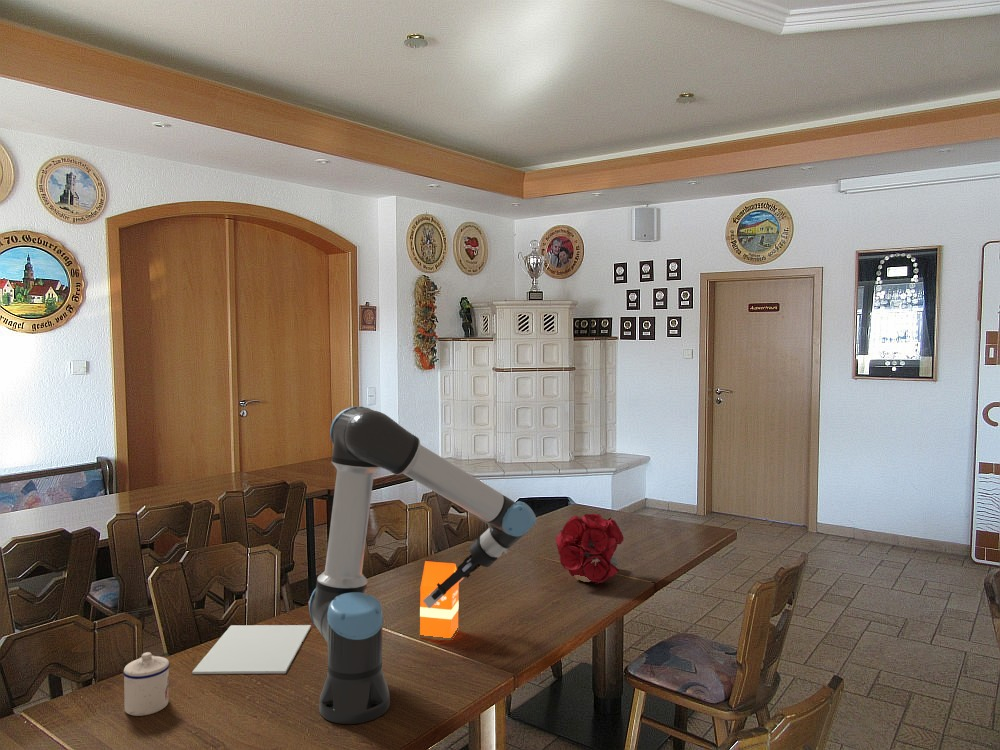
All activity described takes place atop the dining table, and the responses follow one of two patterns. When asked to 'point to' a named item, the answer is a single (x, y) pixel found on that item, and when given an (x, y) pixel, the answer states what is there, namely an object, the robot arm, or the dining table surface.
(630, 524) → the dining table surface
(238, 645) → the rubber mat
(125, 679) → the teacup with lid
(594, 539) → the bouquet
